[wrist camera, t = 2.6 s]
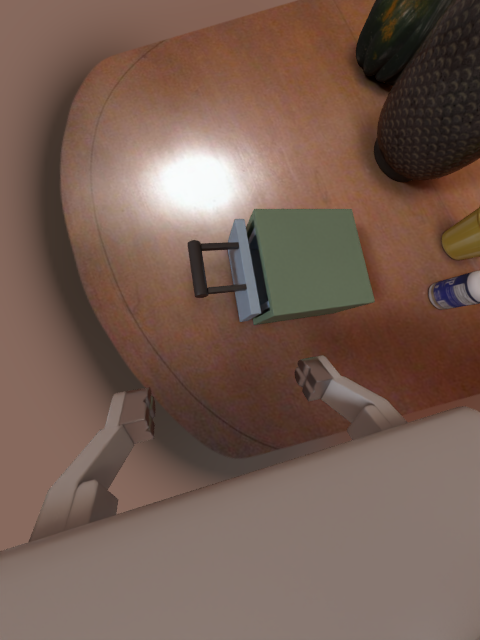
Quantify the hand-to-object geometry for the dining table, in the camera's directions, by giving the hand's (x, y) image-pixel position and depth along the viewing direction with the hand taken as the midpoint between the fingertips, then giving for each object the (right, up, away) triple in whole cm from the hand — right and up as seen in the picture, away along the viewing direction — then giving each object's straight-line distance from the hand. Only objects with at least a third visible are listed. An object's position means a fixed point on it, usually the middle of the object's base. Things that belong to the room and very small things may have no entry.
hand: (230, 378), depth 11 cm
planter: (+32, +36, +30) cm, 57 cm away
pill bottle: (+38, +8, +27) cm, 47 cm away
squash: (+30, +58, +33) cm, 73 cm away
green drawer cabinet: (+8, +10, +20) cm, 24 cm away
